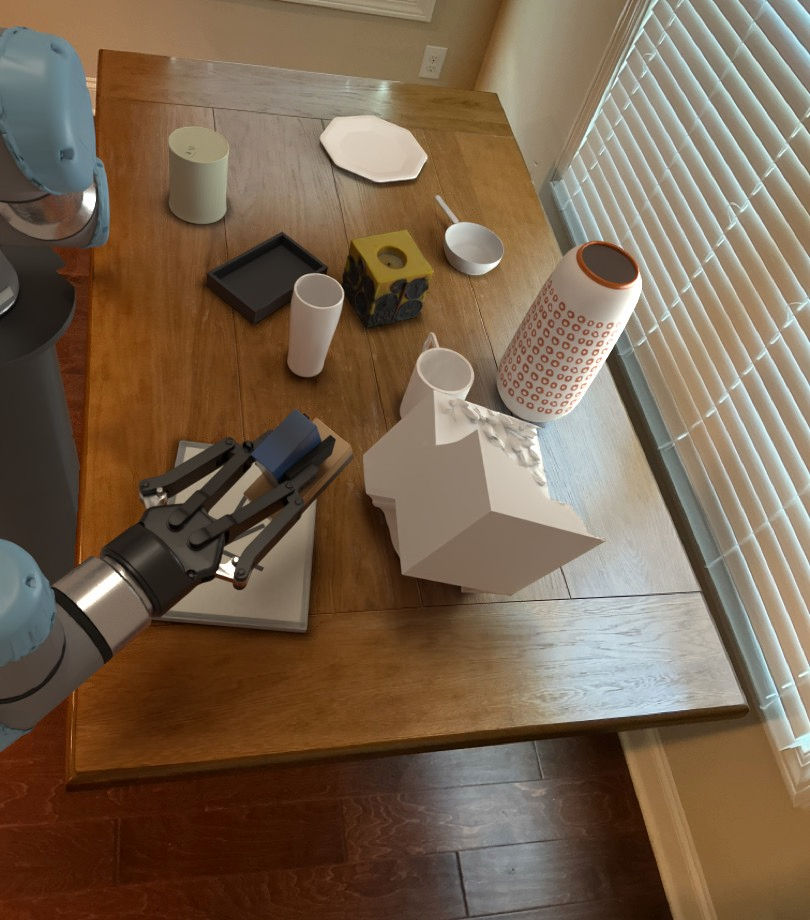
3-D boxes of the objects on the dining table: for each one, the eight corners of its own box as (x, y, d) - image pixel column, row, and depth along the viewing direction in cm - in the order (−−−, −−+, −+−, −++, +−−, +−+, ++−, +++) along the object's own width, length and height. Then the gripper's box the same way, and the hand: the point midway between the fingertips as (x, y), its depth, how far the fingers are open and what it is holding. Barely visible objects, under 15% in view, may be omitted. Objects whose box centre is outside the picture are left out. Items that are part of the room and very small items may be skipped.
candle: (392, 275, 126) (406, 227, 118) (421, 317, 122) (437, 271, 114) (338, 285, 122) (349, 236, 114) (365, 330, 117) (379, 282, 109)
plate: (343, 110, 150) (344, 103, 149) (434, 148, 150) (436, 141, 149) (305, 159, 138) (306, 152, 137) (404, 200, 138) (406, 193, 137)
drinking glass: (289, 386, 108) (302, 311, 96) (276, 350, 111) (287, 274, 99) (333, 379, 110) (352, 306, 98) (319, 345, 113) (335, 270, 101)
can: (158, 210, 121) (155, 144, 112) (185, 180, 127) (185, 115, 117) (210, 232, 122) (213, 167, 112) (235, 201, 127) (240, 138, 117)
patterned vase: (475, 371, 118) (543, 228, 96) (547, 363, 123) (628, 225, 100) (507, 440, 112) (589, 303, 89) (582, 428, 117) (677, 296, 94)
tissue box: (349, 460, 100) (463, 348, 83) (446, 486, 108) (567, 390, 91) (357, 604, 89) (490, 510, 72) (464, 622, 97) (606, 541, 80)
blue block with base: (284, 533, 79) (261, 501, 67) (250, 503, 80) (221, 466, 68) (354, 458, 82) (344, 414, 69) (320, 430, 83) (304, 381, 70)
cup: (439, 372, 116) (457, 327, 108) (459, 435, 110) (481, 392, 102) (388, 373, 113) (404, 327, 105) (406, 438, 107) (424, 394, 99)
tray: (253, 324, 113) (255, 311, 111) (206, 285, 115) (206, 272, 113) (326, 278, 122) (328, 266, 120) (280, 243, 124) (282, 231, 122)
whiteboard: (143, 619, 84) (143, 615, 83) (180, 444, 98) (180, 439, 97) (305, 633, 88) (306, 629, 87) (318, 462, 102) (319, 458, 101)
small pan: (461, 285, 129) (468, 268, 126) (406, 217, 136) (412, 200, 133) (508, 272, 134) (516, 255, 131) (454, 207, 141) (460, 190, 138)
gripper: (67, 546, 67) (258, 408, 80) (192, 667, 63) (369, 503, 77) (55, 503, 61) (264, 362, 74) (193, 635, 57) (385, 462, 71)
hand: (317, 434), depth 75 cm, fingers closed on blue block with base, 3 cm apart
